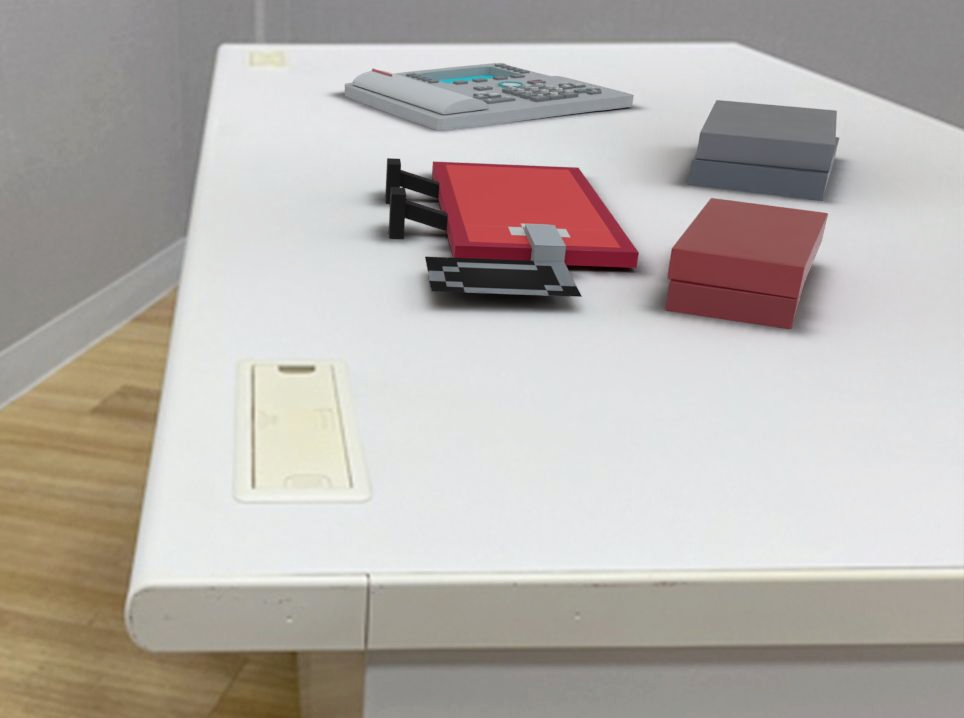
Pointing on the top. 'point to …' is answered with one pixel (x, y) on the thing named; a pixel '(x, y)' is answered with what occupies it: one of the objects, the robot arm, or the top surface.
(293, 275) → the top surface
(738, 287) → the burgundy books
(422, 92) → the office telephone
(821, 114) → the grey books
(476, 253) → the red board with handle
